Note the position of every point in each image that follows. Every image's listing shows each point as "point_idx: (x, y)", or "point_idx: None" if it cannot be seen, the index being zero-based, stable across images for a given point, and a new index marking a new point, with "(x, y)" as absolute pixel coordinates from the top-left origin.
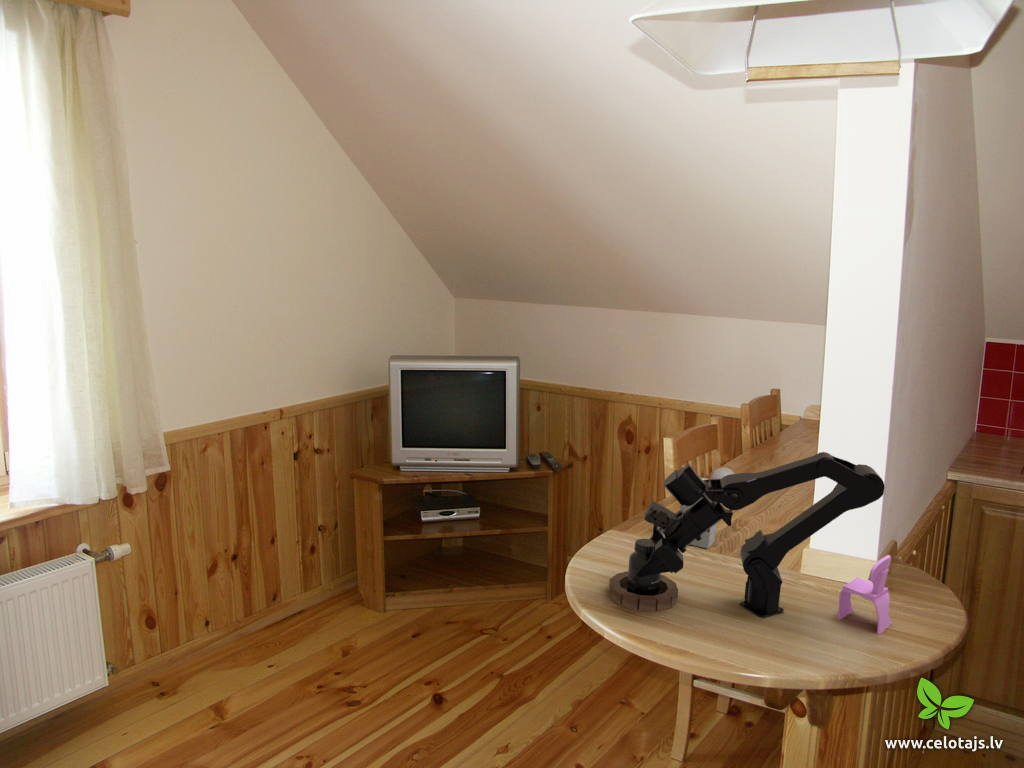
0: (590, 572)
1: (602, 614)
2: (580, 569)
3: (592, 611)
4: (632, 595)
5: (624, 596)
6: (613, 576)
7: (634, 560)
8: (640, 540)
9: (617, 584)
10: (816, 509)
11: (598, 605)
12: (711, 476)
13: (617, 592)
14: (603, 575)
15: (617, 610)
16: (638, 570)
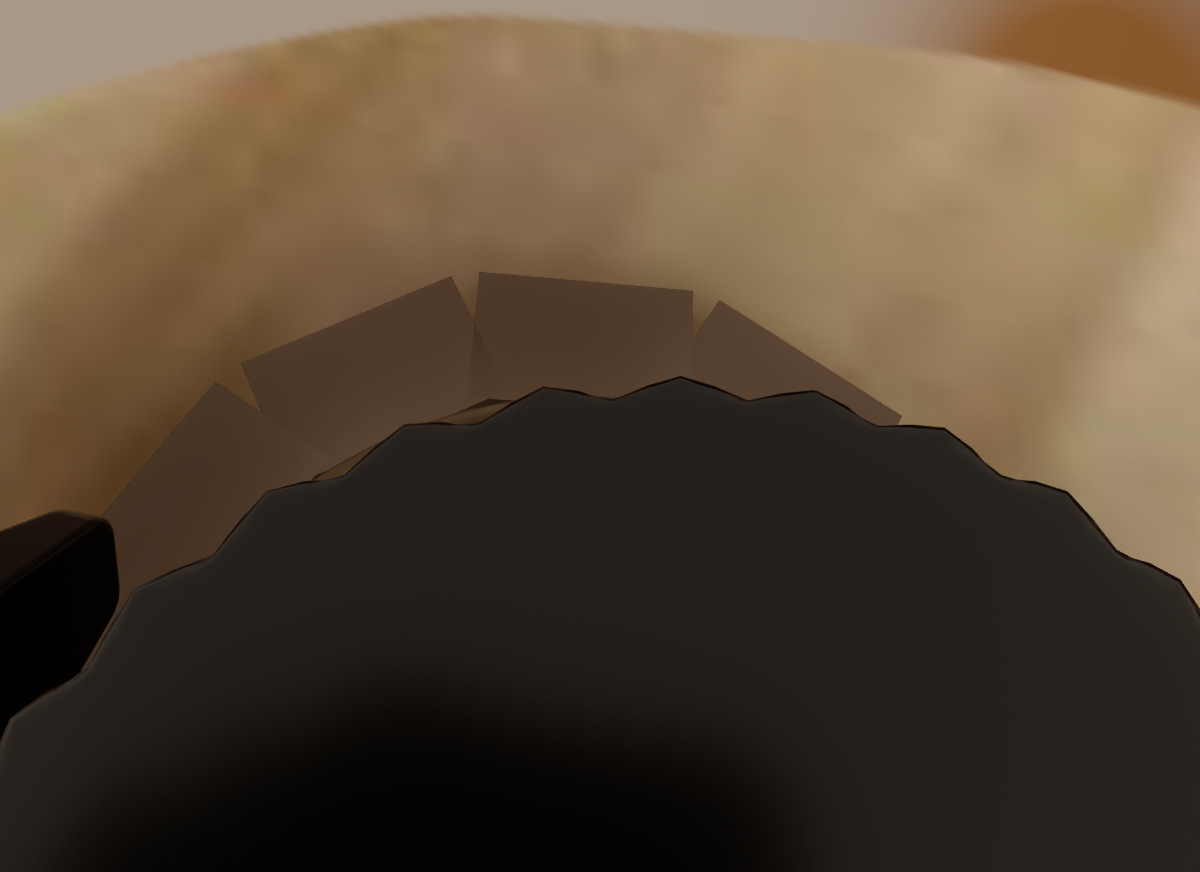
0: (1122, 231)
1: (87, 186)
2: (1174, 143)
3: (169, 101)
4: (188, 520)
5: (201, 409)
6: (813, 361)
7: (343, 471)
8: (1041, 757)
9: (559, 371)
10: None
11: (307, 181)
12: None
13: (319, 333)
14: (1072, 356)
15: (169, 361)
16: (11, 547)
